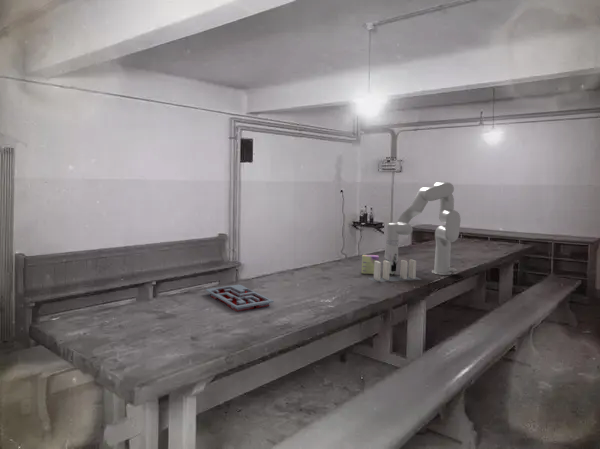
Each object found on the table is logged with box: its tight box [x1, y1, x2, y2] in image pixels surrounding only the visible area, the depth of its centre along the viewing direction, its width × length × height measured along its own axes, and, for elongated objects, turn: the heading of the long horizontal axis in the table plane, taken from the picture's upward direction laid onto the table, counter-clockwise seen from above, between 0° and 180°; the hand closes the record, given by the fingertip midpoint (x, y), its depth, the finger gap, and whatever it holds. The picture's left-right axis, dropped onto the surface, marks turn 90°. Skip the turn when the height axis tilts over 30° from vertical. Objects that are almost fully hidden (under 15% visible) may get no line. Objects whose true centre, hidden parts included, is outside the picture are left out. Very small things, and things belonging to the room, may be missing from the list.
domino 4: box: [399, 259, 409, 279], centre depth 283 cm, size 2×5×11 cm, turn 17°
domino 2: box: [382, 259, 390, 280], centre depth 279 cm, size 2×5×11 cm, turn 17°
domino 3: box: [388, 259, 395, 275], centre depth 296 cm, size 2×5×11 cm, turn 17°
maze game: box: [205, 284, 275, 312], centre depth 230 cm, size 35×20×3 cm, turn 35°
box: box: [360, 254, 380, 275], centre depth 296 cm, size 10×6×12 cm, turn 84°
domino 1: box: [373, 261, 382, 281], centre depth 277 cm, size 2×5×11 cm, turn 17°
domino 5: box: [408, 259, 417, 279], centre depth 285 cm, size 2×5×11 cm, turn 17°
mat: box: [367, 275, 422, 283], centre depth 282 cm, size 32×10×1 cm, turn 107°
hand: (390, 269), depth 296 cm, fingers open, 6 cm apart
